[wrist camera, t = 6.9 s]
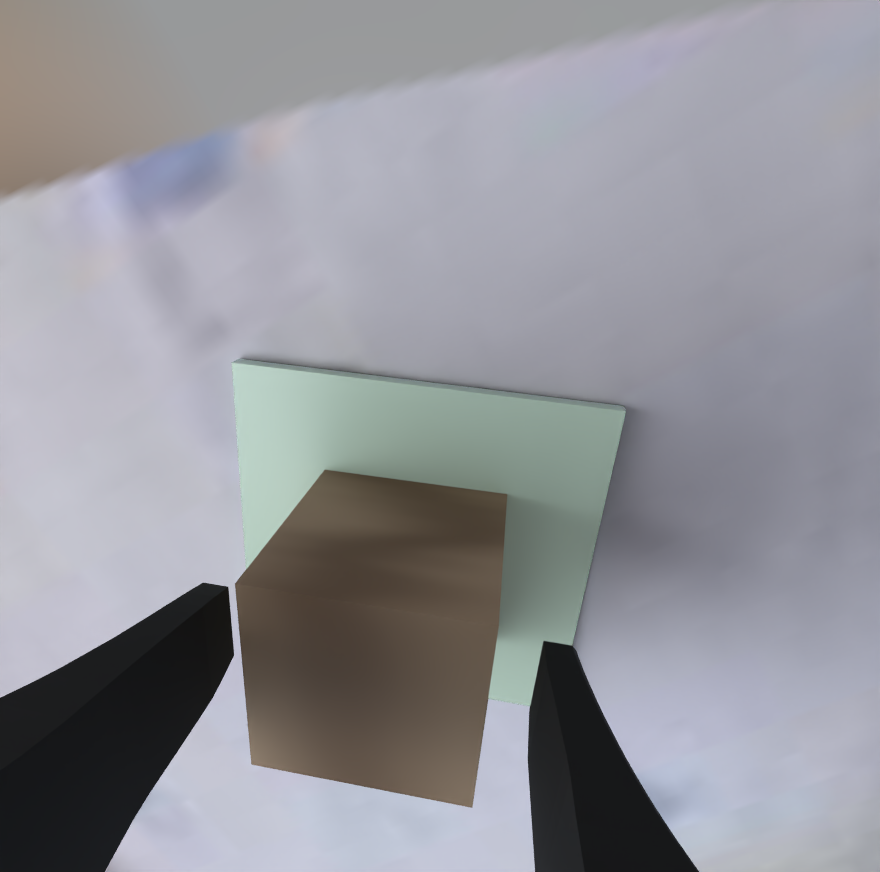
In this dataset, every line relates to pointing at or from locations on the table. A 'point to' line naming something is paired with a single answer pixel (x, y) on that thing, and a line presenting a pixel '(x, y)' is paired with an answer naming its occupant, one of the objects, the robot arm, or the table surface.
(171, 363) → the table surface
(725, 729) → the table surface
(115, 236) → the table surface
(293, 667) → the walnut cube
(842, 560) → the table surface
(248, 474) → the green pad
